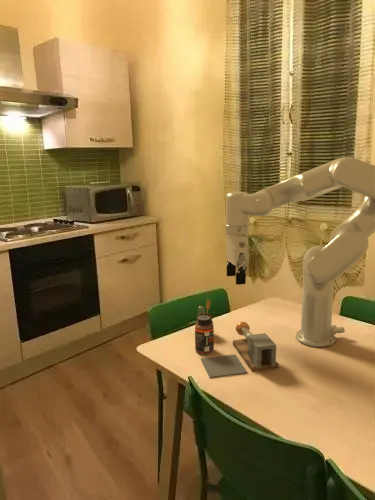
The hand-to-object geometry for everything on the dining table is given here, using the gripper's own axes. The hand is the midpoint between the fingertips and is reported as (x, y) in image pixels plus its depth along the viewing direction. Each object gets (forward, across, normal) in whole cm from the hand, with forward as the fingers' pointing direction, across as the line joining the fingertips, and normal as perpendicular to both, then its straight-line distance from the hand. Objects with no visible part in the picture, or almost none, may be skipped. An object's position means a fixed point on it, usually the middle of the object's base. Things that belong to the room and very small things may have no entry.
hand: (235, 279), depth 133 cm
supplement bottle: (+20, -9, +13) cm, 26 cm away
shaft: (+17, -13, -1) cm, 22 cm away
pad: (+20, -20, +10) cm, 30 cm away
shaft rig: (+20, -17, -1) cm, 26 cm away
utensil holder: (+20, +3, +10) cm, 23 cm away
